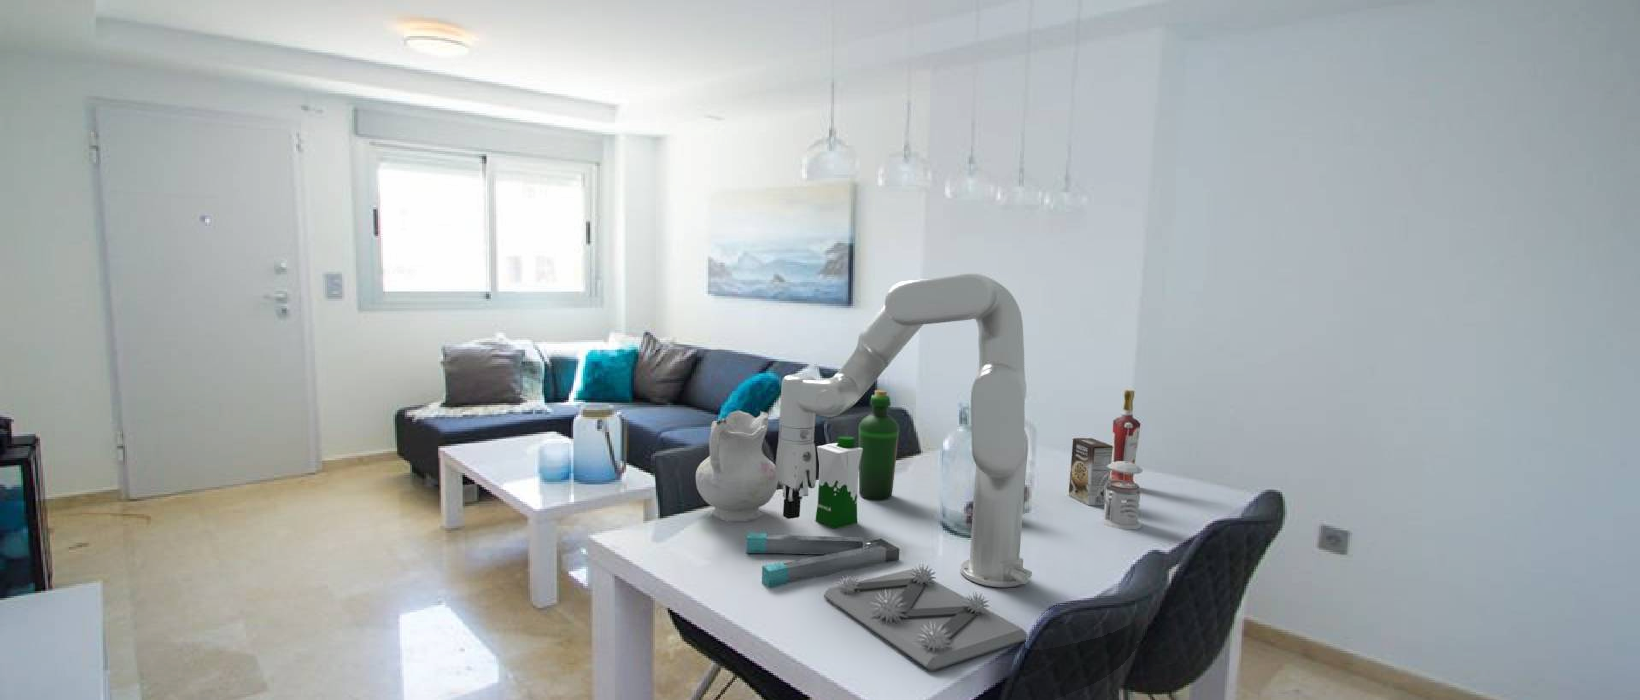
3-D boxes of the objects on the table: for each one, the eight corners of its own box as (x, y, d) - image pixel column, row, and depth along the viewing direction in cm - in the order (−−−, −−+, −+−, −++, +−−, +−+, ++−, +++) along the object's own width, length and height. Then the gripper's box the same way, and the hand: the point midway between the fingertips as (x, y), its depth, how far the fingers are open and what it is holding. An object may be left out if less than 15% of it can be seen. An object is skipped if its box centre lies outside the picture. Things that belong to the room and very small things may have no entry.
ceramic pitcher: (760, 538, 168) (773, 429, 166) (676, 524, 171) (687, 416, 168) (780, 509, 190) (792, 412, 187) (705, 496, 193) (716, 400, 190)
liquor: (1115, 481, 225) (1123, 387, 223) (1139, 487, 220) (1148, 391, 217) (1102, 484, 221) (1110, 389, 218) (1126, 491, 215) (1135, 393, 212)
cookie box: (1067, 495, 208) (1071, 437, 207) (1087, 494, 210) (1091, 437, 209) (1088, 505, 200) (1093, 445, 198) (1108, 504, 202) (1113, 444, 200)
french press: (1150, 527, 184) (1160, 425, 182) (1113, 531, 180) (1122, 427, 177) (1121, 514, 193) (1129, 417, 191) (1084, 518, 189) (1092, 419, 186)
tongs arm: (874, 551, 160) (875, 536, 160) (876, 559, 156) (877, 544, 155) (747, 547, 159) (747, 532, 159) (745, 555, 155) (746, 540, 154)
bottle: (902, 495, 202) (908, 391, 199) (884, 504, 193) (889, 396, 190) (867, 487, 208) (872, 386, 205) (847, 496, 199) (852, 390, 196)
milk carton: (862, 523, 178) (867, 439, 176) (834, 531, 172) (838, 444, 170) (837, 513, 185) (841, 432, 183) (809, 520, 179) (812, 437, 177)
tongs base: (880, 549, 162) (881, 534, 162) (899, 559, 157) (900, 544, 156) (752, 574, 146) (753, 558, 146) (768, 587, 140) (769, 570, 140)
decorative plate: (1030, 644, 124) (1033, 602, 123) (929, 678, 112) (932, 632, 112) (912, 577, 149) (914, 542, 148) (820, 600, 137) (822, 562, 137)
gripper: (830, 440, 157) (824, 526, 159) (794, 424, 169) (789, 504, 171) (799, 442, 153) (793, 530, 155) (764, 426, 165) (759, 508, 167)
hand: (791, 516), depth 163 cm, fingers closed
